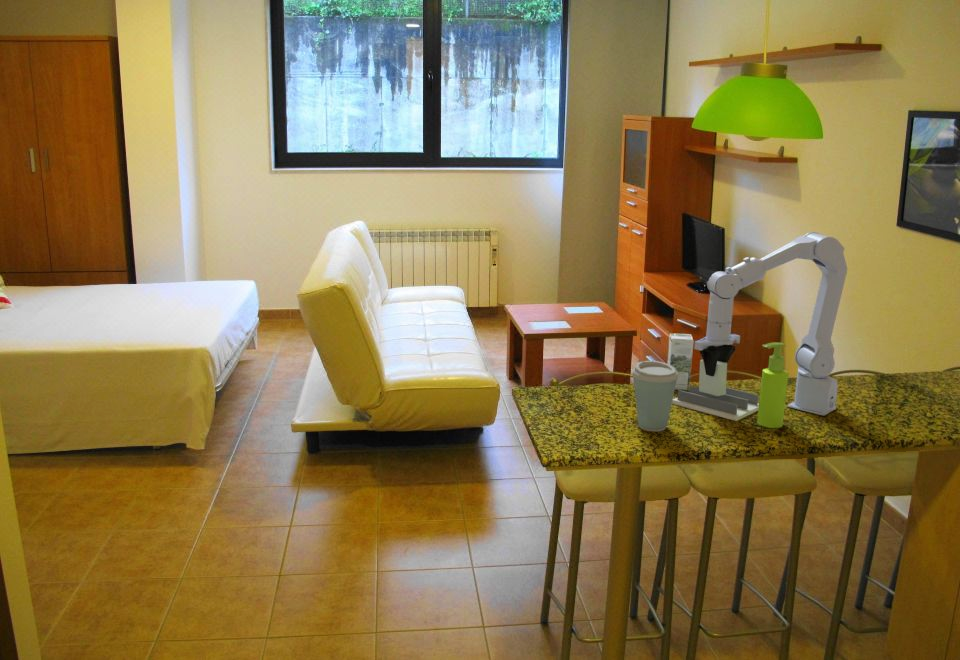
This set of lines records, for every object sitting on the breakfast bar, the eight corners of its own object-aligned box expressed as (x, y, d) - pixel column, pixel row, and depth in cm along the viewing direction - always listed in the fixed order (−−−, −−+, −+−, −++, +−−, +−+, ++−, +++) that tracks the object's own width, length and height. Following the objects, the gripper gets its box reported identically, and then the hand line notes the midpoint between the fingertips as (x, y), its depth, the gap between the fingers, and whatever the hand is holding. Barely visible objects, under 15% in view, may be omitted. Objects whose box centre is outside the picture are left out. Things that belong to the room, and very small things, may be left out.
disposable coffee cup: (684, 430, 209) (689, 368, 205) (649, 438, 203) (654, 375, 200) (652, 417, 217) (657, 357, 214) (618, 424, 212) (622, 363, 208)
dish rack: (762, 408, 226) (764, 394, 225) (736, 421, 216) (738, 407, 215) (699, 391, 238) (700, 379, 237) (671, 403, 228) (672, 390, 227)
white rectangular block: (698, 391, 226) (700, 360, 224) (706, 389, 227) (708, 358, 226) (717, 396, 221) (719, 364, 219) (725, 394, 223) (727, 362, 221)
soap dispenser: (748, 421, 216) (756, 341, 211) (771, 418, 219) (779, 339, 214) (764, 429, 211) (773, 347, 206) (788, 426, 213) (797, 345, 209)
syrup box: (686, 385, 244) (691, 333, 240) (689, 391, 238) (693, 338, 235) (665, 383, 244) (669, 332, 241) (667, 390, 239) (671, 337, 235)
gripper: (712, 327, 212) (707, 382, 216) (752, 320, 221) (746, 373, 224) (689, 321, 218) (685, 375, 221) (729, 315, 226) (724, 367, 229)
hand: (714, 374), depth 223 cm, fingers closed on white rectangular block, 3 cm apart
